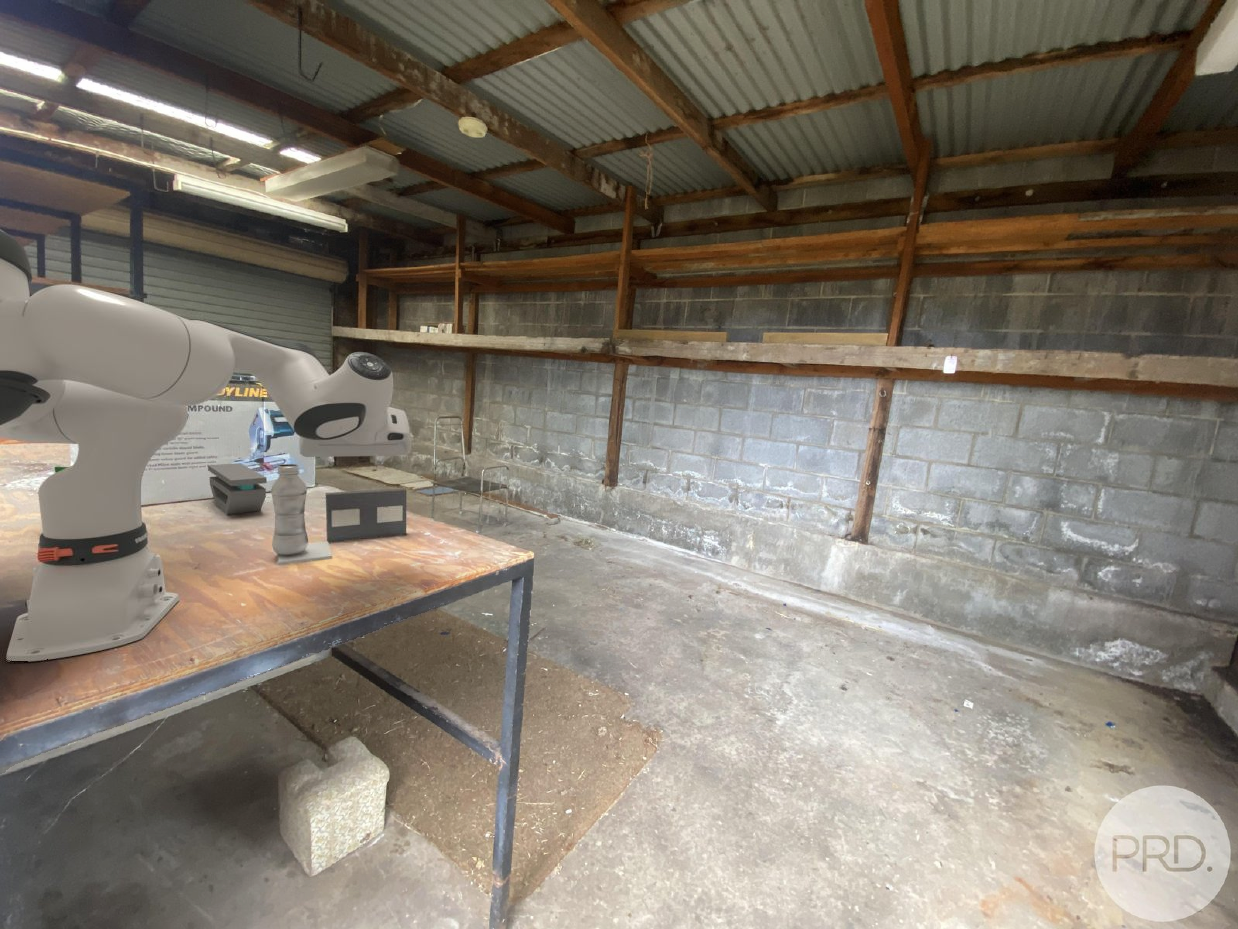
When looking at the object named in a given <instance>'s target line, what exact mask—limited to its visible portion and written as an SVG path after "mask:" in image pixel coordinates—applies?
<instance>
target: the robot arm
mask: <svg viewBox="0 0 1238 929" xmlns="http://www.w3.org/2000/svg"><path fill="white" fill-rule="evenodd" d="M32 281H33V273H32V269H31V264H30V260H29V256H28V254H27V252H26V250H25V248H24V246H23V245H22V244H21V243H20V242H19V241H18V240H17V239H15V238H14V237H12V236H11V235H9V234H8V233H7V232H5V231H4V230H2V229H1V228H0V438H1V439H5V440H12V441H17V442H23V443H32V444H34V443H35V444H63V445H64V444H67V445H70V444H72V445H77V448H78V453H77V456H76V460H75V462H74V463H73V465H71V466H67V467H68V468H65V469H63V470H61V471H59V472H56V473H55V472H54V473H53V474H51V475H49V476H48V477H47V478H46V479H45V480H44V481H42V483H41V484H40V486H39V487H38V492H37V495H38V496H37V497H38V503H39V512H40V520H41V521H40V522H41V528H42V533H41V534H40V535H39V543H38V545H37V553H36V555H37V561H38V563H39V564H38V565H36V566H35V567H34V568H32V573H33V577H32V578H33V579H32V583H31V590H30V594H29V595H30V596H29V599H27V600H26V601H25V607H26V608H27V612H26V613H22V614H21V615H19V616H17V617H16V619H15V624H14V627H13V631H12V634H11V638H10V641H9V644H8V648H7V652H6V659H7V660H10V661H11V660H12V661H28V662H37V661H45V660H46V661H47V659H48V660H54V659H61V658H66V657H67V658H68V657H72V656H79V655H83V654H89V653H94V652H98V651H103V650H107V649H114V648H116V647H121V646H123V645H127V644H129V643H133V642H136V641H138V640H139V641H140V640H141V639H143V638H145V637H146V635H147V634H148V633H150V632H151V630H153V629H154V627H155V626H156V625H158V623H159V622H161V620H162V619H163V618H164V617H165V616H166V614H167V613H168V612H170V611H171V609H172V608H173V607H174V606H175V605H176V604H177V603H178V602H179V601H180V596H179V594H178V593H177V592H176V593H175V592H168V591H166V585H165V578H164V570H163V564H162V556H161V555H160V554H158V553H155V552H153V551H152V550H151V549H150V548H148V546H147V545H148V544H149V540H148V539H149V538H148V537H149V532H148V529H147V526H146V525H147V524H146V523H145V522H143V516H142V513H143V512H142V482H143V476H144V473H145V470H146V467H147V466H148V463H149V461H150V460H151V458H153V456H154V455H155V453H156V452H158V451H159V449H161V448H162V447H163V446H165V445H166V444H168V443H169V442H172V441H173V440H174V439H175V438H176V437H178V436H179V435H180V434H181V433H182V431H183V430H184V428H185V427H186V423H187V421H188V416H189V410H188V407H191V406H192V407H193V406H196V405H199V404H203V403H205V402H207V401H211V400H212V399H213V398H215V397H217V396H218V395H219V394H220V393H221V392H222V391H223V390H224V389H225V388H226V386H228V384H229V383H230V381H231V379H232V377H233V375H234V373H235V372H234V370H236V371H240V372H245V373H248V374H250V375H252V376H253V377H254V378H255V379H256V380H257V381H258V382H259V383H260V385H261V386H262V387H263V388H264V389H265V391H266V392H267V393H268V395H269V396H270V398H271V399H272V401H273V402H274V404H275V405H276V406H277V407H278V410H279V411H280V413H281V414H282V416H283V417H284V418H285V421H286V422H288V424H289V425H290V427H291V428H292V429H293V431H294V432H295V434H296V435H297V436H299V439H298V442H299V444H298V446H299V455H302V457H304V458H318V457H319V459H320V460H322V461H324V462H325V463H324V464H325V467H334V466H335V459H334V458H335V457H375V458H374V462H375V466H383V465H384V463H385V461H387V460H388V459H390V458H391V457H392V456H394V457H395V456H407V455H408V454H410V453H411V450H412V438H411V434H410V425H409V420H408V416H407V413H406V411H405V410H403V409H398V408H395V407H390V405H391V403H392V400H393V399H392V397H393V393H394V392H393V391H394V375H393V371H392V369H391V367H390V366H389V364H387V363H386V362H385V361H384V360H383V359H382V358H381V357H379V356H377V355H375V354H372V353H369V352H363V351H356V352H353V353H350V354H349V355H347V357H346V358H345V360H344V362H343V364H342V365H341V366H340V368H338V369H337V370H336V371H334V372H333V373H332V374H329V373H328V372H327V370H326V369H325V368H324V366H323V363H322V362H321V360H320V359H319V356H318V355H317V353H316V352H315V351H314V350H313V349H312V348H311V347H309V346H308V345H306V344H303V343H300V342H296V341H287V340H275V339H269V338H266V337H263V336H259V335H257V334H253V333H250V332H247V331H243V330H242V329H238V328H235V327H232V326H228V325H225V324H222V323H219V322H216V321H212V320H209V319H203V318H201V317H200V318H199V317H183V316H179V315H177V314H174V313H172V312H171V311H168V310H164V309H161V308H159V307H156V306H154V305H151V304H147V303H145V302H143V301H139V300H136V299H133V298H129V297H128V296H127V297H126V296H123V295H119V294H116V293H113V292H108V291H105V290H100V289H96V288H92V287H88V286H83V285H79V284H78V285H77V284H63V283H62V284H56V285H54V284H53V285H50V286H48V287H44V288H41V289H40V290H37V291H36V292H35V293H33V294H32V295H31V296H30V294H31V293H30V288H29V284H31V282H32ZM7 660H6V661H7ZM10 661H9V662H10Z"/></svg>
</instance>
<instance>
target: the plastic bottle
mask: <svg viewBox="0 0 1238 929" xmlns="http://www.w3.org/2000/svg"><path fill="white" fill-rule="evenodd" d="M299 474H300V470H299V464H296V463H282V464H277V475H279V476H278V478H277V479H276V480H275V481H274V483H273V484H272V486H271V489H270V493H271V494H270V495H271V497H272V498H271V499H272V502H273V509H274V531H273V533H274V534H273V536H272V542H271V544H272V545H271V546H272V549H273V552H275V554H276V555H278V554H279V555H294V554H298V553H302V552H304V551H305V549H306V548H307V545H308V543H309V536H308V533H307V530H306V529H307V528H306V521H305V509H306V508H305V507H306V499H307V493H308V487H307V484H306V483H305V482H304V480H303V479H302V478H300V476H299Z"/></svg>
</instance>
